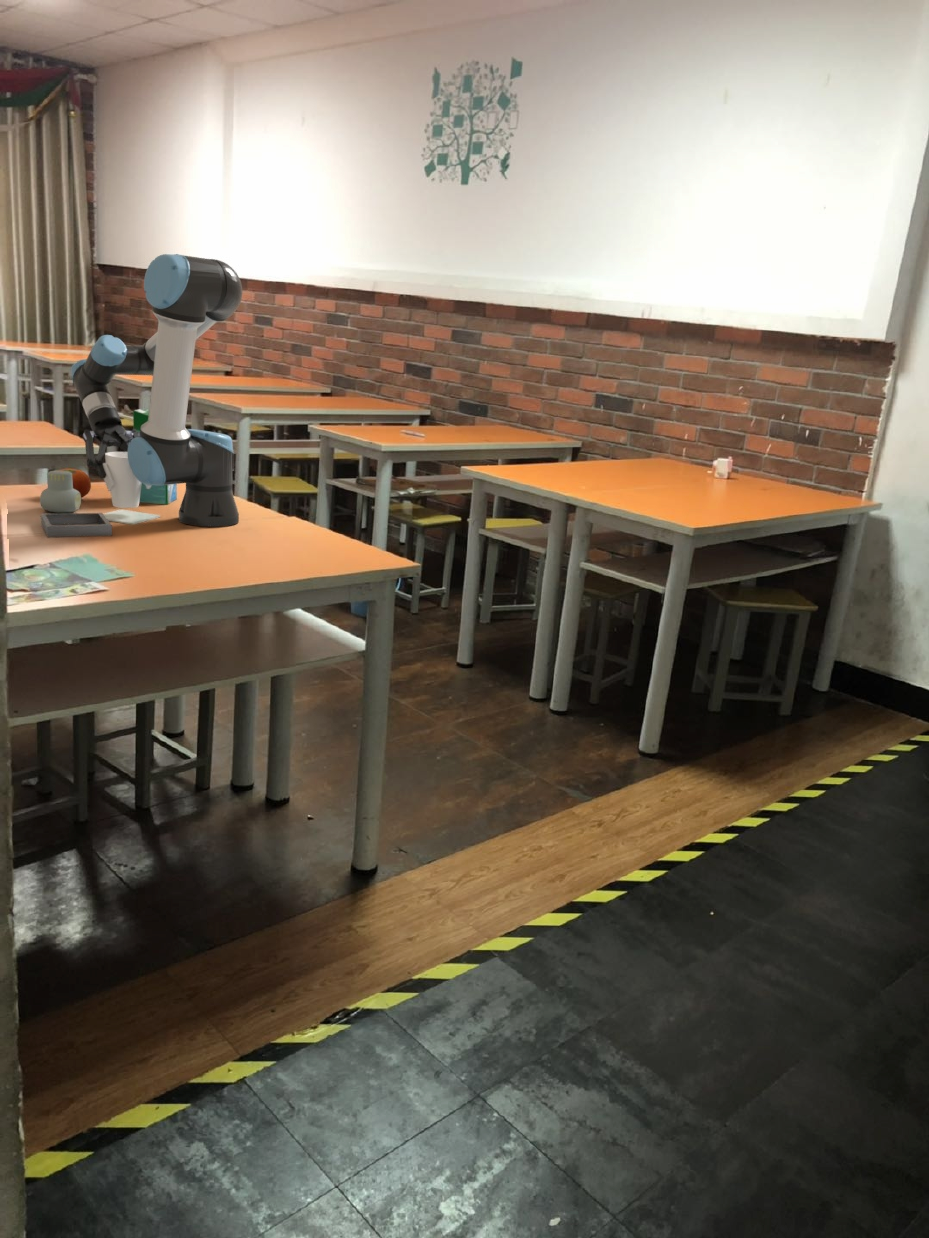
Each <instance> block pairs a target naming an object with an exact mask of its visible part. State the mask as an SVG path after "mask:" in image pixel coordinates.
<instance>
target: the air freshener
mask: <svg viewBox="0 0 929 1238" xmlns="http://www.w3.org/2000/svg"><path fill="white" fill-rule="evenodd" d="M46 475H47V487H46V488H45V489H43V490H42V491H41V493H40V497H39V503H40V506H41V508H42V509H44V510H46V511H48V512H50V513H53V514H60V513H74V512H76V511H77V510H79V509H80V506H81V504H82V498H81V494H80V492H79V491H77V490H75V489H73V479H72V473H71V472H68V471H58V470H51V471H48V472H47V474H46Z"/></svg>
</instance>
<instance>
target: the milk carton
mask: <svg viewBox="0 0 929 1238" xmlns="http://www.w3.org/2000/svg"><path fill="white" fill-rule="evenodd" d="M132 416H133V418H132V419H133V420H132V421H133V422H132V423H133V424H132V425H133V428H132V430H133V429H136V430H137V433H138V436H139V437H140V429H141V426H142V425H143V424H144V423H146V422H147V421H148V417H149V408H147V407H142V408H139V409H138V408H137V409H134V410H133V411H132ZM177 486H178V484H170V485H163V486H158V485H152V486H151V488H150V489H147V488H146V485H145V484H143V483H142V485H141V493H140V501H139V503H145V504H154V505H169V504H170V503H172V502H174V501H176V500H177V498H178V497H177V496H178V495H177V494H178V487H177Z"/></svg>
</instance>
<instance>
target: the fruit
mask: <svg viewBox="0 0 929 1238" xmlns="http://www.w3.org/2000/svg"><path fill="white" fill-rule="evenodd" d="M57 471H68V472H71V473H72V479H73V489H75V490H77V491H79V492H80V494H81V499H82V498H84V497H86V496H87V495H88V494H89V492H90V491H91V487H92V483H91V479H90V476H89V475H88V474H87V473H86V472H84V471H83V470H80V469H75V468H63V469H57Z"/></svg>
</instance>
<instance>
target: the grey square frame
mask: <svg viewBox="0 0 929 1238" xmlns="http://www.w3.org/2000/svg"><path fill="white" fill-rule="evenodd" d="M103 514H104V513H103V512H75V513H74V512H72V513H40V525H41V527H42V529H43V531H44V533H45V535H46V537H47V538H70V537H71V538H73V537H75V538H76V537H94V536H95V537H105V536H106V537H107V536H109V537H110V536H113V528H112V527H113V526H112V524H111V521H108V520H107V519H106V517H105V516H104V515H103Z"/></svg>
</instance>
